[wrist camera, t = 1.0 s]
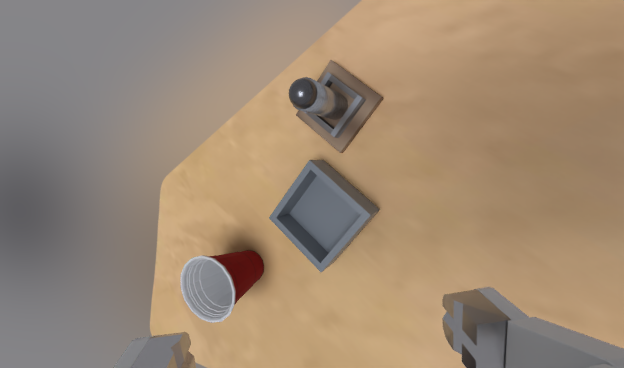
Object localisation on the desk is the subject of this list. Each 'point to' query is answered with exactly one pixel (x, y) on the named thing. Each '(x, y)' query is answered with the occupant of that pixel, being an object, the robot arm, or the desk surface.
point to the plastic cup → (219, 282)
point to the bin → (322, 213)
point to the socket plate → (358, 111)
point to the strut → (317, 99)
